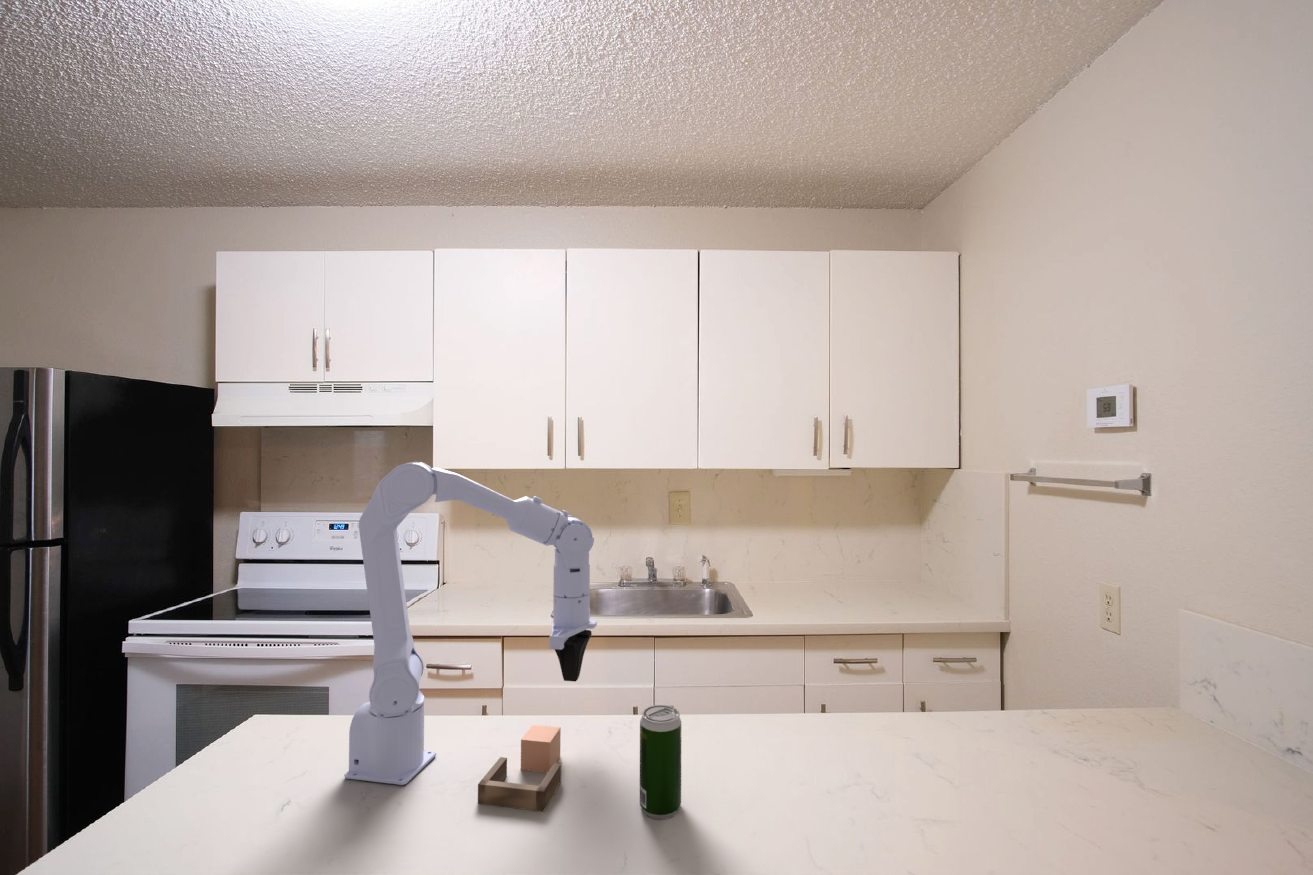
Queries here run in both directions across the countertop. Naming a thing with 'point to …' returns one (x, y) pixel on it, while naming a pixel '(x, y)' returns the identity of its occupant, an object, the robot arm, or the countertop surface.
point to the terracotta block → (540, 748)
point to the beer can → (660, 761)
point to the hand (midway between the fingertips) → (571, 679)
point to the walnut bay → (517, 789)
